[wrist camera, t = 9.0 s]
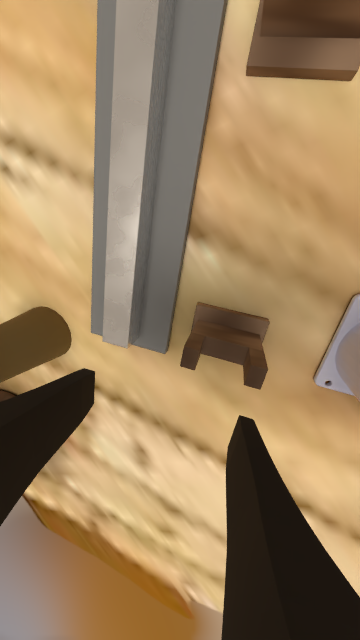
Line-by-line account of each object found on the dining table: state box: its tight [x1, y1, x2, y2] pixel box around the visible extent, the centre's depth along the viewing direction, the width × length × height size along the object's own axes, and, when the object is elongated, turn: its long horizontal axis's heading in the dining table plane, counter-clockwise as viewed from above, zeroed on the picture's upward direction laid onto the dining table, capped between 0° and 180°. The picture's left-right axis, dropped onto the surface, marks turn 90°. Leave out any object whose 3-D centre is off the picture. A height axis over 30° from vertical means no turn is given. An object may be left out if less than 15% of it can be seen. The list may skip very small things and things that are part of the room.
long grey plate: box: [91, 0, 227, 354], centre depth 17 cm, size 8×26×1 cm, turn 171°
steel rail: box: [103, 0, 176, 348], centre depth 16 cm, size 2×24×2 cm, turn 171°
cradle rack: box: [180, 0, 360, 389], centre depth 13 cm, size 6×23×6 cm, turn 171°
